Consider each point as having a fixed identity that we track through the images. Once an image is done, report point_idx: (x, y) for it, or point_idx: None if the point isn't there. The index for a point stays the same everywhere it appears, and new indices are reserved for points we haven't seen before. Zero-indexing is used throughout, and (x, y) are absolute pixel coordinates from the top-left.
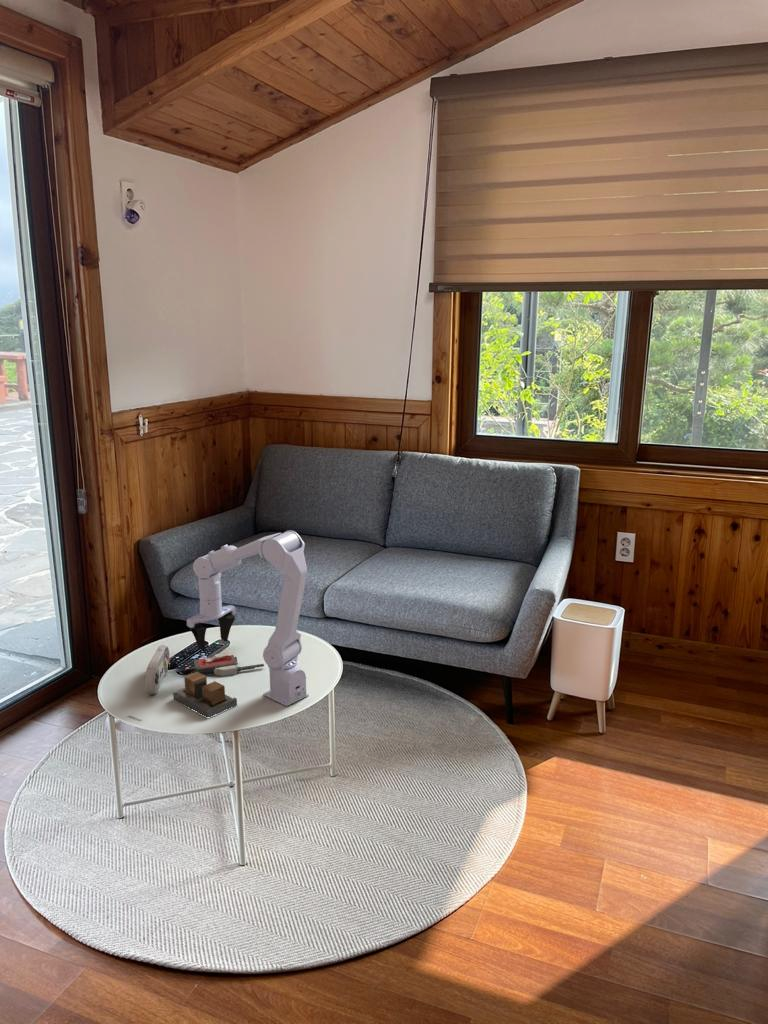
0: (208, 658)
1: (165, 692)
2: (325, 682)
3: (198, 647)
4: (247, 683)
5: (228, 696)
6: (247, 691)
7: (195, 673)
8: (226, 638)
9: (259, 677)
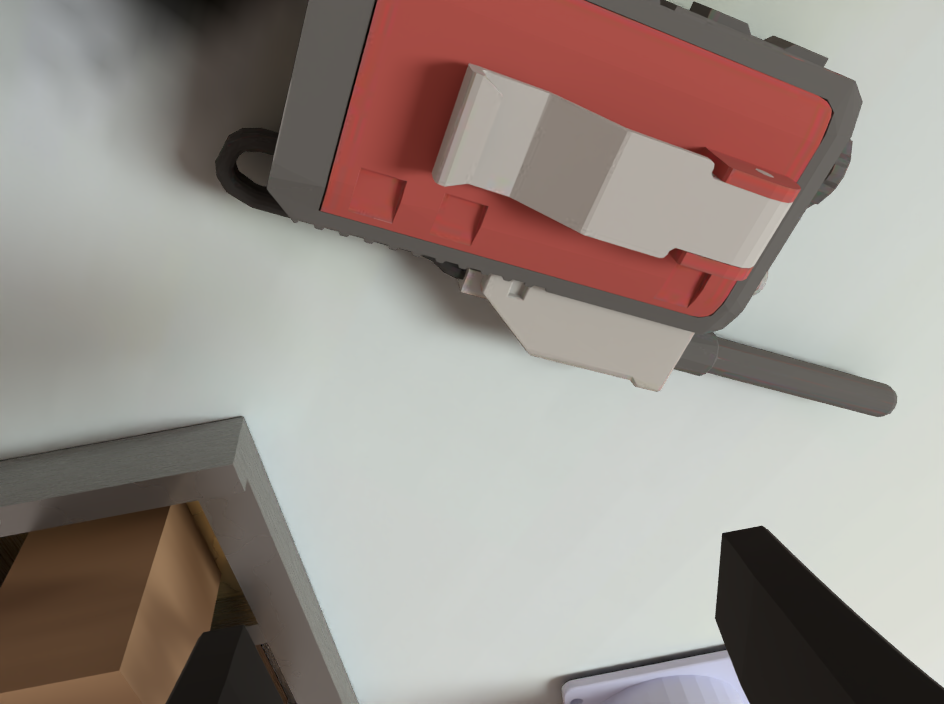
0: (524, 88)
1: None
2: None
3: (197, 653)
4: (592, 523)
5: (336, 698)
6: (517, 607)
7: (87, 694)
8: (746, 674)
9: (722, 490)
